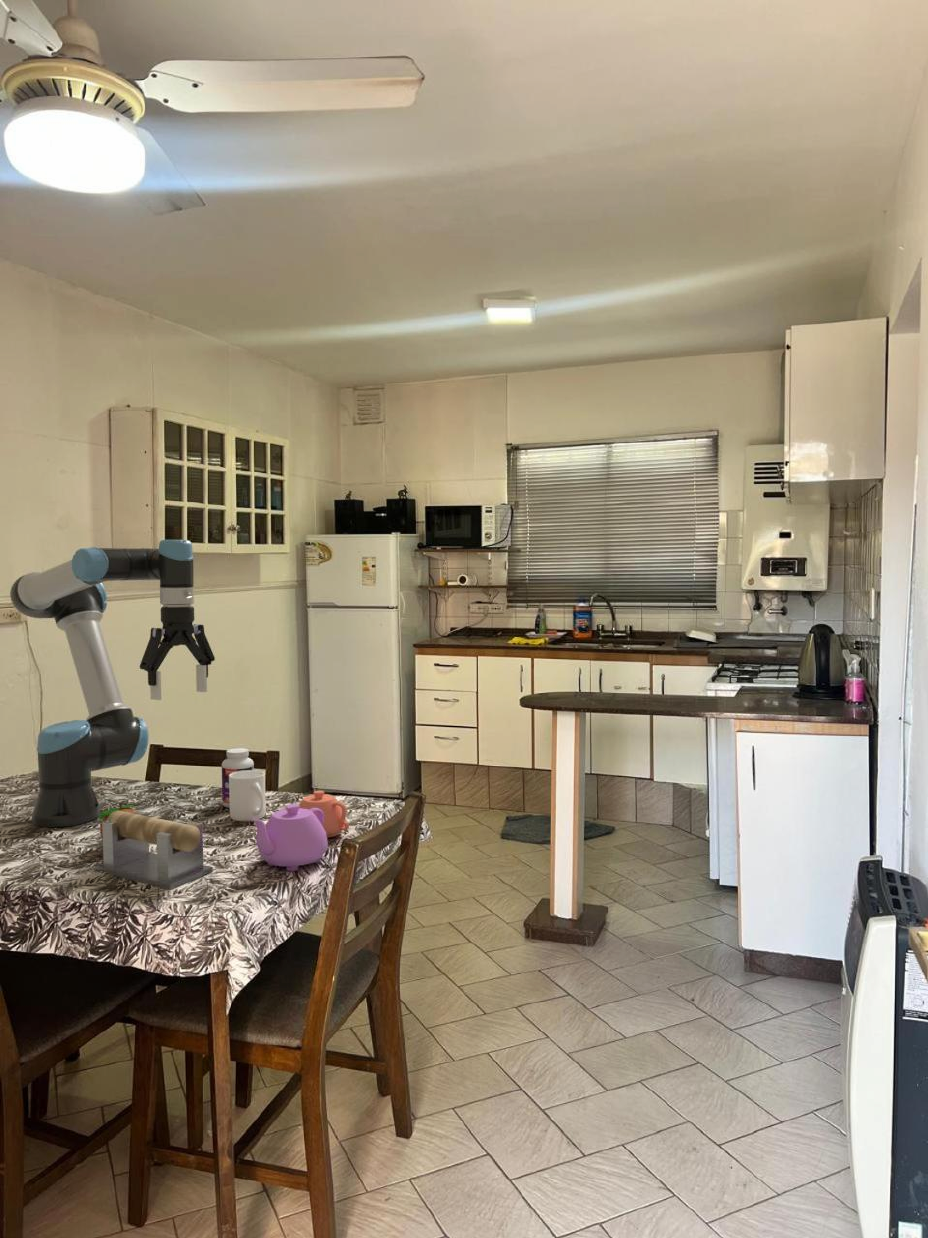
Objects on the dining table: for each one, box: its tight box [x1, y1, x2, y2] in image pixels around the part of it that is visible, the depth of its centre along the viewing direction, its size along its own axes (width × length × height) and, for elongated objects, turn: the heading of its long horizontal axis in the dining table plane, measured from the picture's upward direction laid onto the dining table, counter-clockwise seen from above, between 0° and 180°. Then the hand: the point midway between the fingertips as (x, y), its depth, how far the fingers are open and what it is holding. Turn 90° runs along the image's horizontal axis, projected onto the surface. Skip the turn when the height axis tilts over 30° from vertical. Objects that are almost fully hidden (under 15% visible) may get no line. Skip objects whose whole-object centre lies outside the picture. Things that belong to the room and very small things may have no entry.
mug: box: [229, 769, 267, 822], centre depth 213 cm, size 9×12×11 cm
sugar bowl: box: [298, 790, 350, 839], centre depth 199 cm, size 12×14×10 cm
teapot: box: [251, 803, 329, 872], centre depth 180 cm, size 20×14×12 cm
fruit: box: [97, 801, 139, 840], centre depth 192 cm, size 9×10×10 cm
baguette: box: [106, 811, 200, 852], centre depth 176 cm, size 22×5×5 cm, turn 60°
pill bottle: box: [221, 747, 255, 809], centre depth 224 cm, size 8×8×14 cm
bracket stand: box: [94, 810, 214, 891], centre depth 176 cm, size 22×11×10 cm, turn 60°
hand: (179, 695), depth 205 cm, fingers open, 13 cm apart
